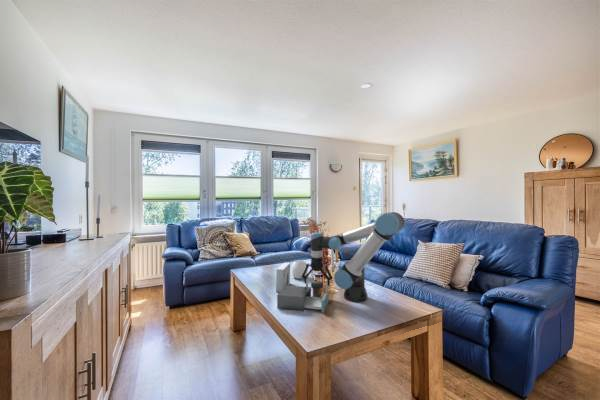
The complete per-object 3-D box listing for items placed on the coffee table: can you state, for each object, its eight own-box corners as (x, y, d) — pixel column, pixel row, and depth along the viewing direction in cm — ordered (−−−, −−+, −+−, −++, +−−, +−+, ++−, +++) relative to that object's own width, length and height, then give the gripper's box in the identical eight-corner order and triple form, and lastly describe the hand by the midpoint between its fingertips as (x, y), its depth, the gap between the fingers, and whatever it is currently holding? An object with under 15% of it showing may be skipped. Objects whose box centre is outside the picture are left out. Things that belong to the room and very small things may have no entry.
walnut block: (321, 296, 174) (321, 285, 174) (319, 299, 170) (319, 288, 170) (314, 296, 175) (314, 285, 175) (313, 298, 171) (313, 287, 171)
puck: (323, 285, 175) (323, 281, 175) (321, 289, 168) (321, 285, 168) (312, 284, 177) (312, 280, 177) (310, 288, 170) (310, 284, 170)
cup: (291, 275, 223) (291, 259, 223) (306, 275, 224) (306, 259, 224) (292, 280, 210) (292, 263, 210) (309, 279, 211) (308, 262, 211)
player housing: (310, 299, 168) (310, 287, 168) (303, 311, 151) (303, 297, 151) (287, 297, 173) (286, 285, 173) (277, 308, 155) (277, 294, 155)
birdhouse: (328, 301, 165) (328, 290, 165) (323, 312, 148) (323, 300, 148) (304, 299, 169) (304, 288, 169) (297, 310, 152) (296, 298, 152)
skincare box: (283, 292, 183) (283, 269, 183) (275, 292, 184) (275, 269, 184) (290, 283, 203) (290, 262, 203) (283, 282, 204) (283, 262, 204)
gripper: (336, 256, 173) (336, 289, 173) (300, 254, 179) (300, 285, 179) (335, 258, 165) (335, 293, 165) (296, 256, 172) (297, 289, 172)
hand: (317, 289), depth 172 cm, fingers open, 13 cm apart
